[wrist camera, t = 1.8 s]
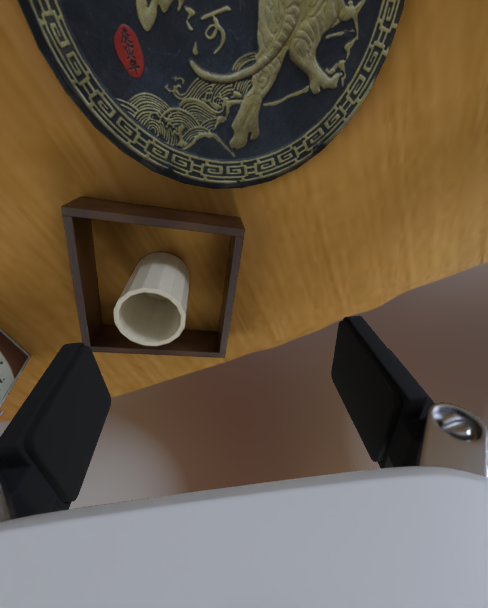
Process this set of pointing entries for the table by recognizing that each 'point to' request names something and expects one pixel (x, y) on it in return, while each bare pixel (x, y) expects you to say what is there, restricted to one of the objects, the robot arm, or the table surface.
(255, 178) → the decorative plate
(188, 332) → the wooden box
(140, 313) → the cup
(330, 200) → the table surface
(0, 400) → the food container
